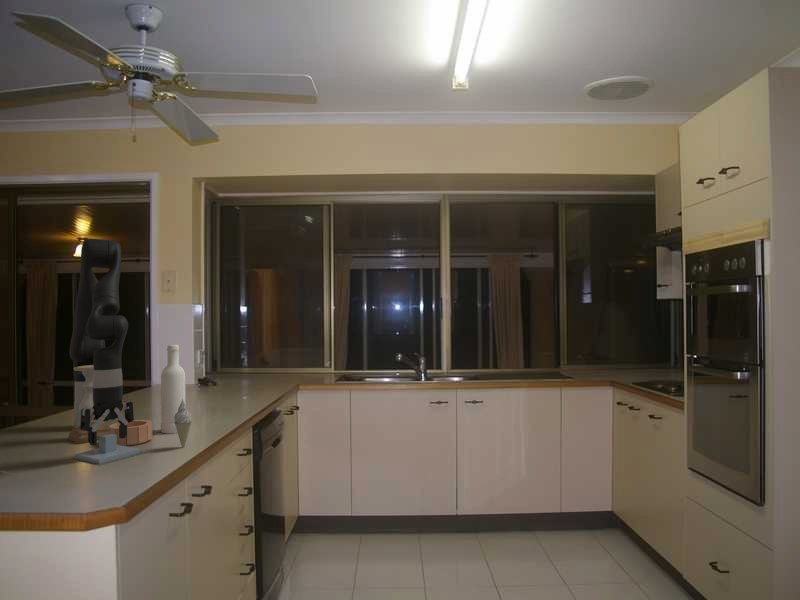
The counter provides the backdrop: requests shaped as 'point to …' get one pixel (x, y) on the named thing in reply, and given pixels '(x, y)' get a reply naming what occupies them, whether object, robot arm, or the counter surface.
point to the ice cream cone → (182, 423)
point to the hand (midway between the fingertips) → (108, 441)
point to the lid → (107, 451)
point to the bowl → (133, 432)
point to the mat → (106, 462)
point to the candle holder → (87, 407)
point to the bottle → (171, 390)
